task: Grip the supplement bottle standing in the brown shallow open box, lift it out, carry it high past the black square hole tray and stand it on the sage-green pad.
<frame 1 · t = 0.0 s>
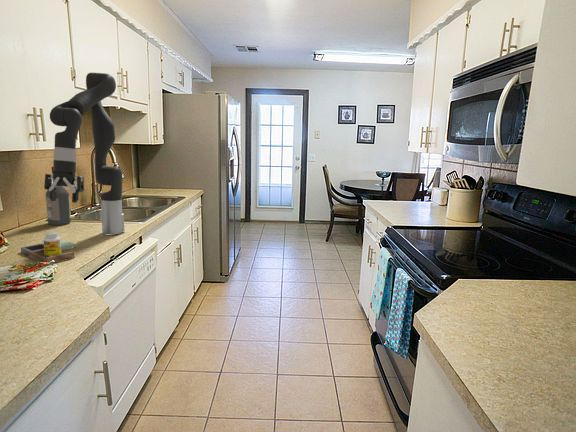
hand: (63, 201, 142), 22 cm above the countertop, tool pointing down, fingers open, 8 cm apart
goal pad: (61, 247, 156), on the countertop
liquor: (59, 223, 193), on the countertop
brown shallow open box: (53, 257, 143), on the countertop
supplement bottle: (53, 258, 143), on the countertop
hole tray: (37, 252, 148), on the countertop
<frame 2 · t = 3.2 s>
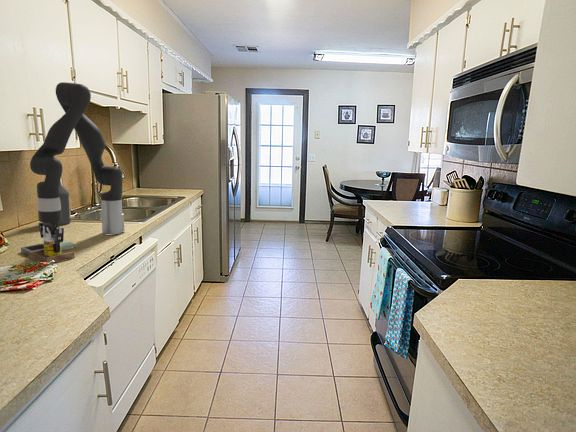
hand: (52, 250, 143), 3 cm above the countertop, tool pointing down, fingers closed on supplement bottle, 5 cm apart
supplement bottle: (53, 258, 143), on the countertop, touching gripper
everything else where it was.
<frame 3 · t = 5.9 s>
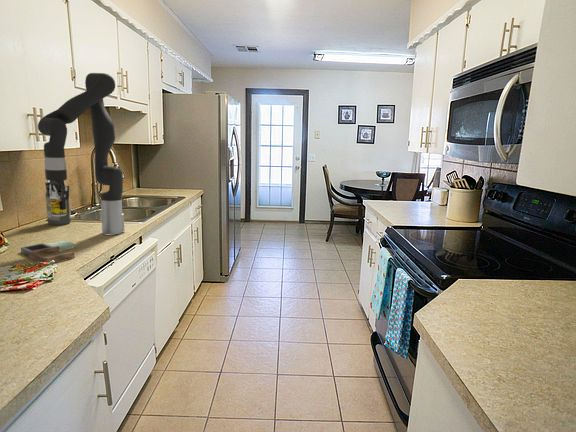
hand: (58, 208, 152), 17 cm above the countertop, tool pointing down, fingers closed on supplement bottle, 5 cm apart
supplement bottle: (59, 215, 153), point 14 cm above the countertop, touching gripper
everything else where it was.
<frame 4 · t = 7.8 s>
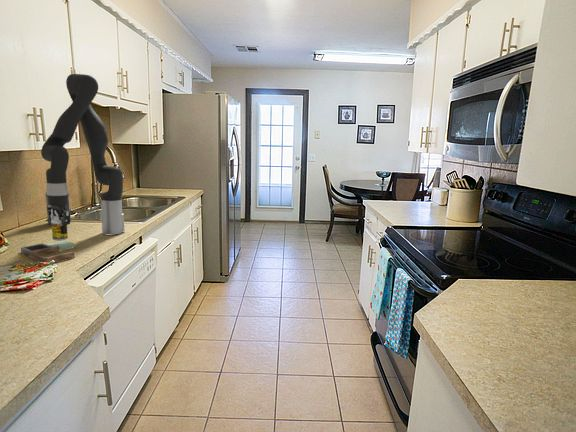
hand: (60, 232, 154), 7 cm above the countertop, tool pointing down, fingers closed on supplement bottle, 5 cm apart
supplement bottle: (60, 239, 155), point 4 cm above the countertop, touching gripper
everything else where it was.
when the fingers open (5 cm above the countertop, at t = 9.1 s): supplement bottle stays where it is, resting on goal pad.
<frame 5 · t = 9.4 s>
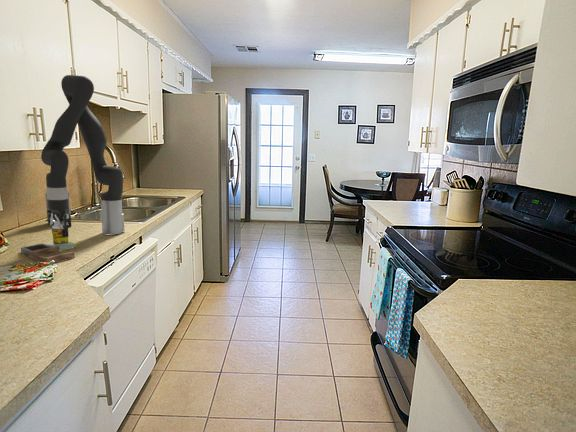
hand: (60, 235, 155), 5 cm above the countertop, tool pointing down, fingers open, 7 cm apart
supplement bottle: (61, 244, 155), point 1 cm above the countertop, touching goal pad
everything else where it was.
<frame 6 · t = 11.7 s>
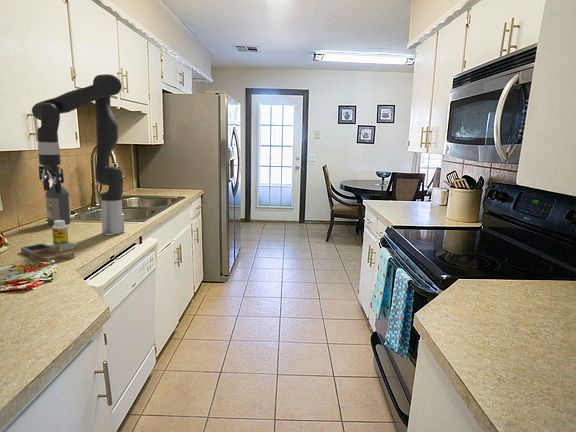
hand: (52, 191, 153), 24 cm above the countertop, tool pointing down, fingers open, 8 cm apart
nothing on the countertop moved.
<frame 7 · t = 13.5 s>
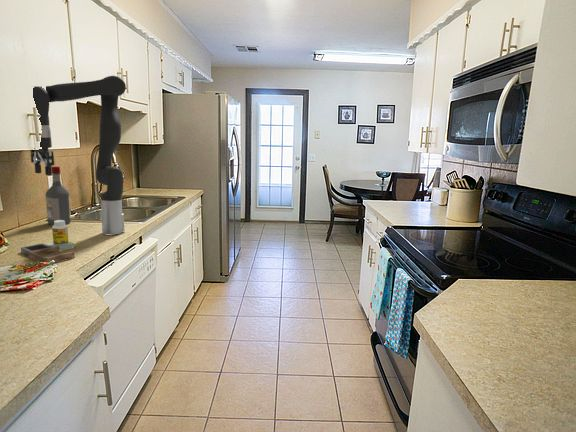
hand: (43, 174, 157), 30 cm above the countertop, tool pointing down, fingers open, 8 cm apart
nothing on the countertop moved.
at the end: supplement bottle 0.1 cm off-centre on the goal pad, point 1.3 cm above the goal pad's base; supplement bottle tilted 0°; supplement bottle touching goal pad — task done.
